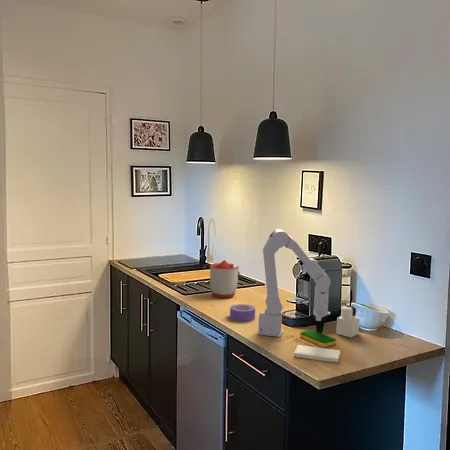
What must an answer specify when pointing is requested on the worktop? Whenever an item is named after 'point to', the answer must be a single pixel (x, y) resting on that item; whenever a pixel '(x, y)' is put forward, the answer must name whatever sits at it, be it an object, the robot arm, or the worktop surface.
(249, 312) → the tape roll
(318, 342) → the dish sponge
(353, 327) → the medicine bottle
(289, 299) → the worktop surface
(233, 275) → the citrus juicer
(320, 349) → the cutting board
